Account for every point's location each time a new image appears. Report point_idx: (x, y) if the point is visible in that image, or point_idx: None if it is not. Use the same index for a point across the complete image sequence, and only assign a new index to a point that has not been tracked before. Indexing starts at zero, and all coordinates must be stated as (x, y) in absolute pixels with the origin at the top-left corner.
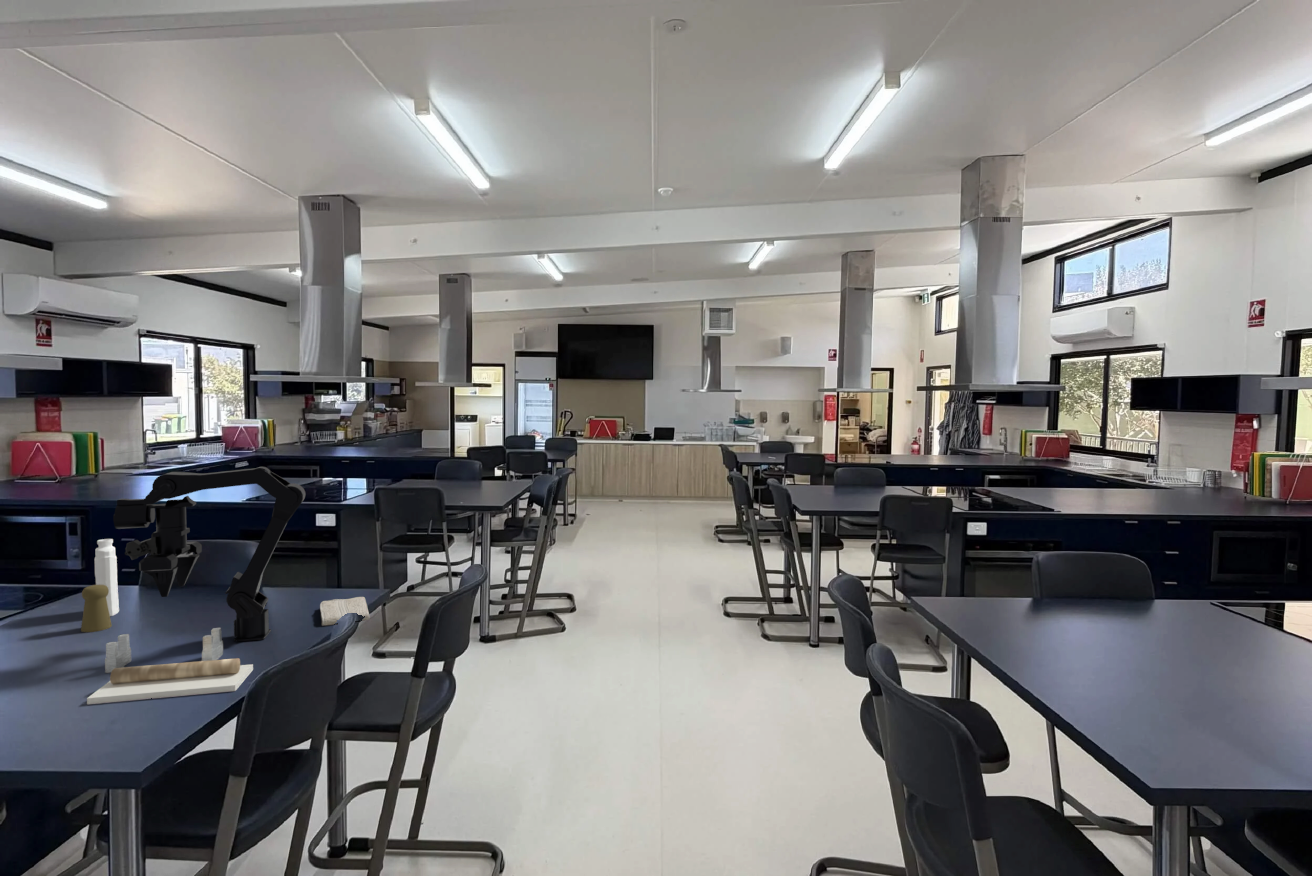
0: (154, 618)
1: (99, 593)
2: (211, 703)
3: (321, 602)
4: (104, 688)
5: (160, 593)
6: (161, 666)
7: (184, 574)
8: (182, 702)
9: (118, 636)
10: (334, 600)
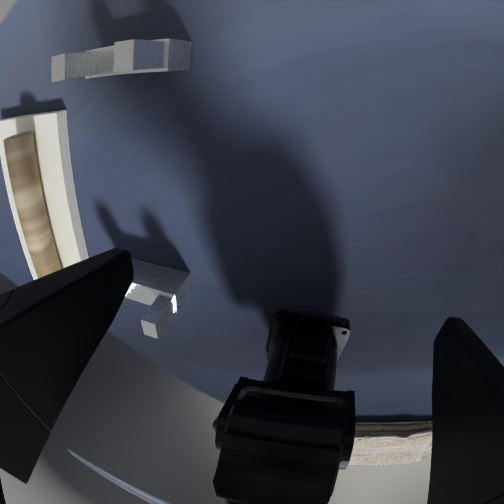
0: None
1: None
2: (23, 277)
3: None
4: (16, 126)
5: (93, 258)
6: (21, 225)
7: (446, 432)
8: (18, 247)
9: (115, 44)
10: (430, 443)
